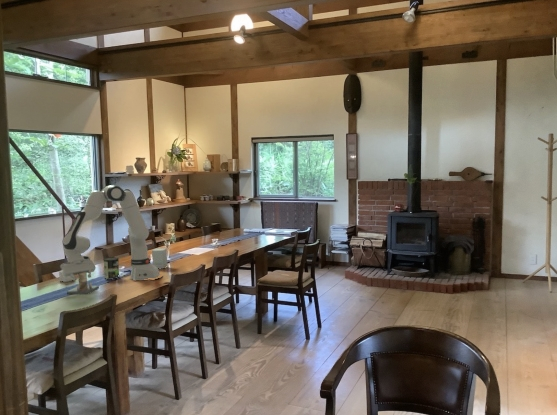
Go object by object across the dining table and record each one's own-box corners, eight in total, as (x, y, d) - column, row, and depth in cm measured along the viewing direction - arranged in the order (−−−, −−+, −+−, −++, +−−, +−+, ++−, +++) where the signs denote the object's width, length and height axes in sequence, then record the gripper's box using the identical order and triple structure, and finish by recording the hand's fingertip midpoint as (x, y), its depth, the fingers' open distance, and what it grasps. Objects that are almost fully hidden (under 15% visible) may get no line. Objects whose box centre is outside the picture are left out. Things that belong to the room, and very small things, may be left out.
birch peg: (88, 287, 305) (88, 272, 304) (84, 289, 300) (83, 274, 299) (81, 287, 306) (80, 272, 305) (77, 289, 301) (76, 273, 300)
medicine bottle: (74, 280, 332) (73, 263, 331) (65, 282, 326) (64, 265, 325) (68, 278, 336) (67, 262, 334) (59, 281, 330) (58, 264, 328)
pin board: (98, 288, 309) (98, 280, 309) (87, 294, 295) (87, 286, 295) (78, 287, 311) (78, 280, 310) (67, 293, 297) (66, 285, 296)
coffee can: (122, 276, 340) (121, 257, 339) (114, 279, 330) (113, 260, 329) (109, 275, 342) (108, 257, 341) (101, 279, 332) (100, 259, 331)
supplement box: (167, 266, 369) (167, 248, 368) (163, 269, 360) (163, 250, 359) (156, 266, 370) (155, 248, 369) (152, 269, 361) (151, 250, 360)
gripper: (60, 261, 299) (67, 278, 293) (92, 256, 313) (99, 272, 307) (58, 267, 303) (65, 284, 297) (89, 261, 317) (96, 278, 311)
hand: (82, 278), depth 302 cm, fingers open, 8 cm apart
